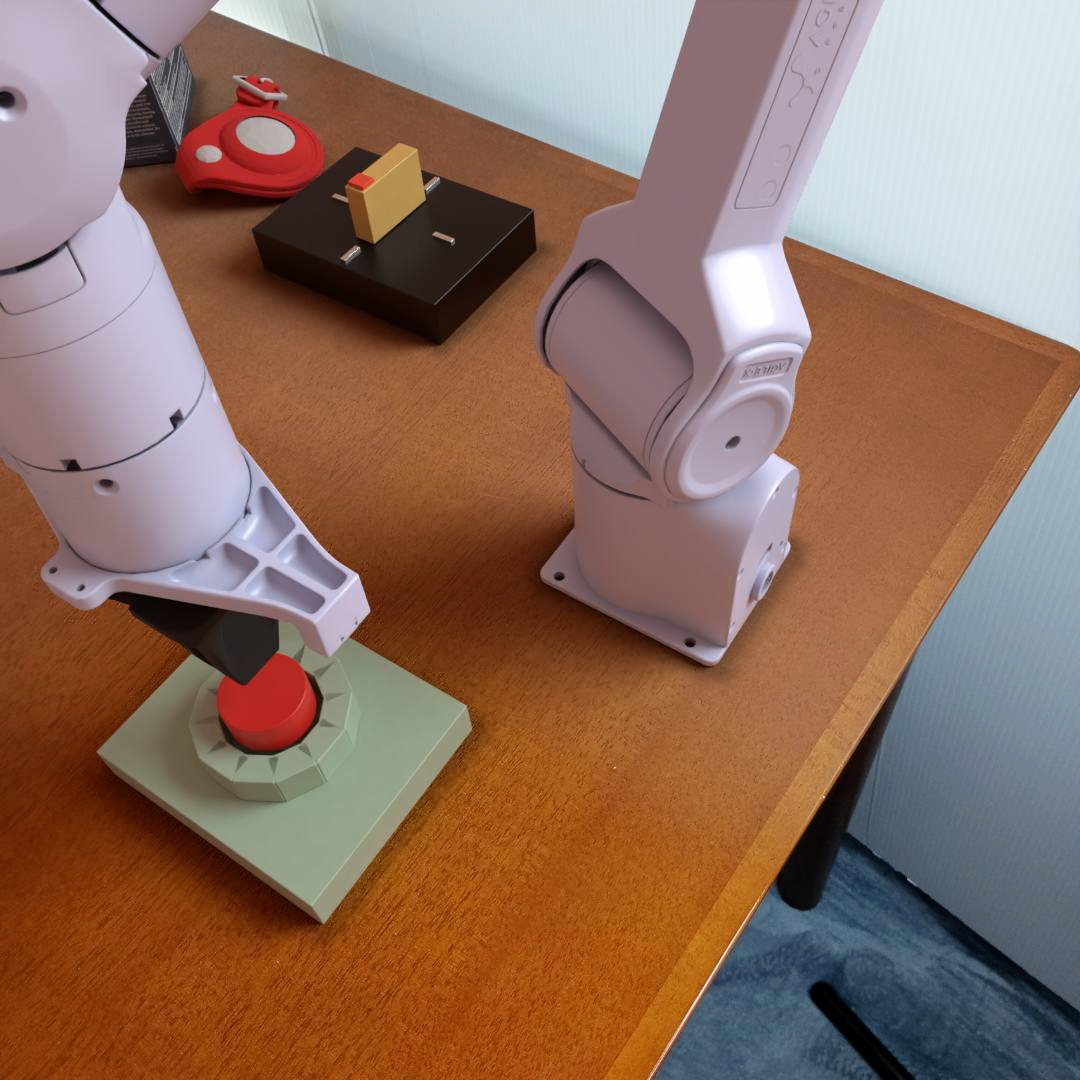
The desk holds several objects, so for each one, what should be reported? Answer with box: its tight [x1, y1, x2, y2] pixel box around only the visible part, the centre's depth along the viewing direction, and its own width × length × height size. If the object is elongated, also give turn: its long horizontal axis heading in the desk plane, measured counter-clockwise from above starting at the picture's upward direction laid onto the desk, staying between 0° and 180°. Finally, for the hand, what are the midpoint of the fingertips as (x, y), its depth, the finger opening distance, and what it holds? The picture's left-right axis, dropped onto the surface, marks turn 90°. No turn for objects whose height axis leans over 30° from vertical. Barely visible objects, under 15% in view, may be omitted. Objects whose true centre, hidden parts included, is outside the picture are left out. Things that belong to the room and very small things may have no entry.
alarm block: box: [96, 620, 473, 925], centre depth 45 cm, size 12×10×4 cm
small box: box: [123, 42, 196, 168], centre depth 74 cm, size 11×6×10 cm, turn 6°
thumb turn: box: [345, 142, 426, 244], centre depth 63 cm, size 5×1×4 cm, turn 146°
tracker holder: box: [174, 74, 325, 199], centre depth 73 cm, size 12×4×10 cm
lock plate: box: [251, 146, 538, 345], centre depth 65 cm, size 14×10×3 cm
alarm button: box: [216, 653, 316, 751], centre depth 43 cm, size 4×4×2 cm
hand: (241, 653), depth 40 cm, fingers closed
